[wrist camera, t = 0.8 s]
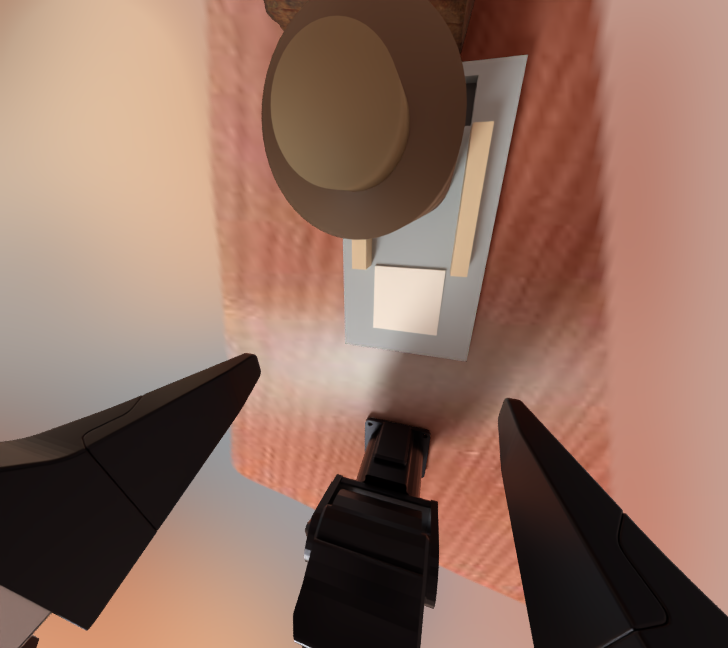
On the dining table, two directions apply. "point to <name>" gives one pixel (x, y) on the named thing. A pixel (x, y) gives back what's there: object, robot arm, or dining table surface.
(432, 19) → the pepper mill
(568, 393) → the dining table surface
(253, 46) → the dining table surface
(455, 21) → the brick
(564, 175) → the dining table surface
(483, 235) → the board
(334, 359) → the dining table surface
